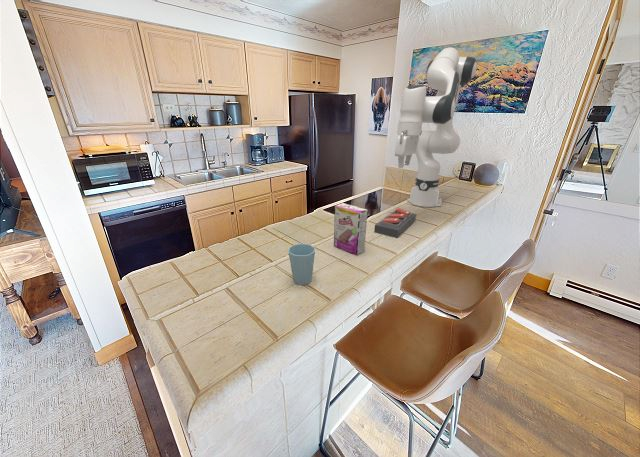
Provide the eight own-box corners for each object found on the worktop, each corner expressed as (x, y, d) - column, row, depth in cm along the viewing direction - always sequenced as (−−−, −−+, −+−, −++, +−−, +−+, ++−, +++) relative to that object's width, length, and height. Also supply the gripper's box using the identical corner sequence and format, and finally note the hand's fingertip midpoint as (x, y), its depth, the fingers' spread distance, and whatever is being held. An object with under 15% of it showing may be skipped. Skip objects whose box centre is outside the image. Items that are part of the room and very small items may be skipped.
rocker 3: (397, 209, 126) (398, 207, 125) (409, 214, 123) (410, 212, 123) (395, 211, 124) (395, 209, 123) (407, 216, 121) (408, 214, 120)
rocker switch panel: (397, 214, 134) (398, 206, 133) (417, 218, 129) (419, 210, 127) (374, 232, 113) (375, 222, 112) (396, 238, 108) (398, 228, 106)
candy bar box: (332, 246, 101) (333, 205, 94) (341, 242, 104) (342, 202, 98) (357, 256, 94) (359, 212, 87) (365, 251, 97) (368, 209, 91)
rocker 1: (385, 220, 116) (385, 218, 115) (399, 220, 112) (399, 218, 112) (383, 222, 113) (382, 220, 113) (396, 222, 110) (396, 220, 109)
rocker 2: (392, 216, 121) (391, 213, 121) (405, 216, 117) (404, 213, 117) (389, 217, 119) (389, 215, 118) (402, 218, 115) (402, 215, 115)
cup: (316, 287, 77) (315, 255, 73) (289, 288, 76) (287, 256, 72) (314, 273, 84) (314, 243, 80) (290, 274, 83) (288, 243, 79)
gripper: (410, 131, 95) (404, 170, 100) (422, 131, 111) (417, 164, 116) (393, 130, 98) (388, 168, 103) (407, 130, 114) (402, 163, 119)
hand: (403, 166), depth 110 cm, fingers open, 8 cm apart
